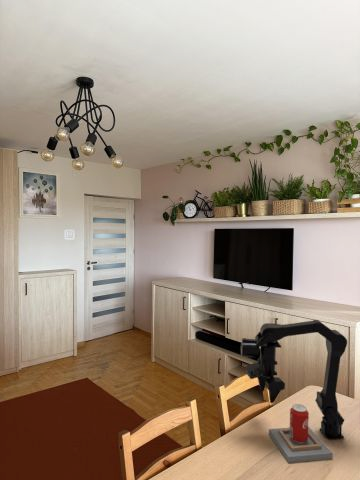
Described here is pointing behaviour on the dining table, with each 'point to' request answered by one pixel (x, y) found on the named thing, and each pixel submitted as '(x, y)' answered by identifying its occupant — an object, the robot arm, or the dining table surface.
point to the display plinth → (300, 446)
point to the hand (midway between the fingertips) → (266, 396)
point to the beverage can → (299, 423)
